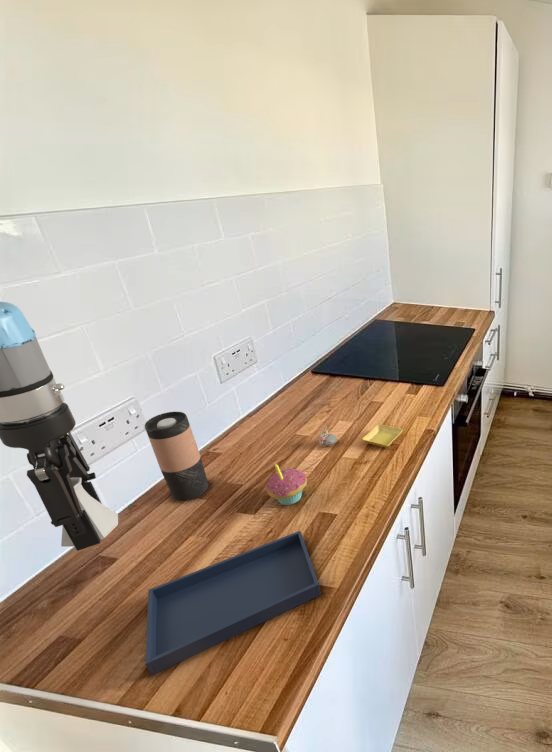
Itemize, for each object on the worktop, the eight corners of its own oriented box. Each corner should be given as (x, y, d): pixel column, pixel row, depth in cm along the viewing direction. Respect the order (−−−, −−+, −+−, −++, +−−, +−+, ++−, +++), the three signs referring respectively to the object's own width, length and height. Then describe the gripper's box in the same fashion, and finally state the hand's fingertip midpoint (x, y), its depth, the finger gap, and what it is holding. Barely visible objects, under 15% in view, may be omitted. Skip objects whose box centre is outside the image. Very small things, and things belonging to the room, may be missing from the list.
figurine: (340, 443, 123) (337, 425, 120) (328, 451, 119) (325, 433, 117) (326, 437, 125) (323, 420, 122) (314, 446, 121) (311, 428, 119)
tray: (151, 675, 67) (145, 664, 66) (153, 600, 78) (148, 589, 77) (321, 594, 81) (318, 584, 80) (302, 540, 92) (300, 530, 91)
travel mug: (213, 477, 108) (191, 408, 99) (205, 497, 101) (181, 426, 93) (176, 483, 105) (150, 414, 96) (166, 505, 99) (138, 432, 90)
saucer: (361, 445, 123) (360, 439, 122) (378, 429, 130) (378, 423, 129) (388, 451, 120) (387, 445, 120) (404, 435, 128) (403, 429, 127)
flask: (74, 520, 73) (49, 473, 69) (127, 510, 75) (106, 465, 71) (51, 553, 67) (22, 505, 63) (109, 542, 69) (85, 494, 65)
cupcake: (295, 513, 98) (286, 472, 93) (261, 508, 99) (250, 466, 94) (316, 488, 106) (309, 448, 101) (285, 483, 107) (275, 443, 102)
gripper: (54, 438, 56) (117, 561, 66) (76, 377, 70) (125, 486, 80) (-33, 457, 52) (48, 585, 62) (9, 388, 66) (70, 502, 76)
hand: (91, 529), depth 71 cm, fingers closed on flask, 7 cm apart
